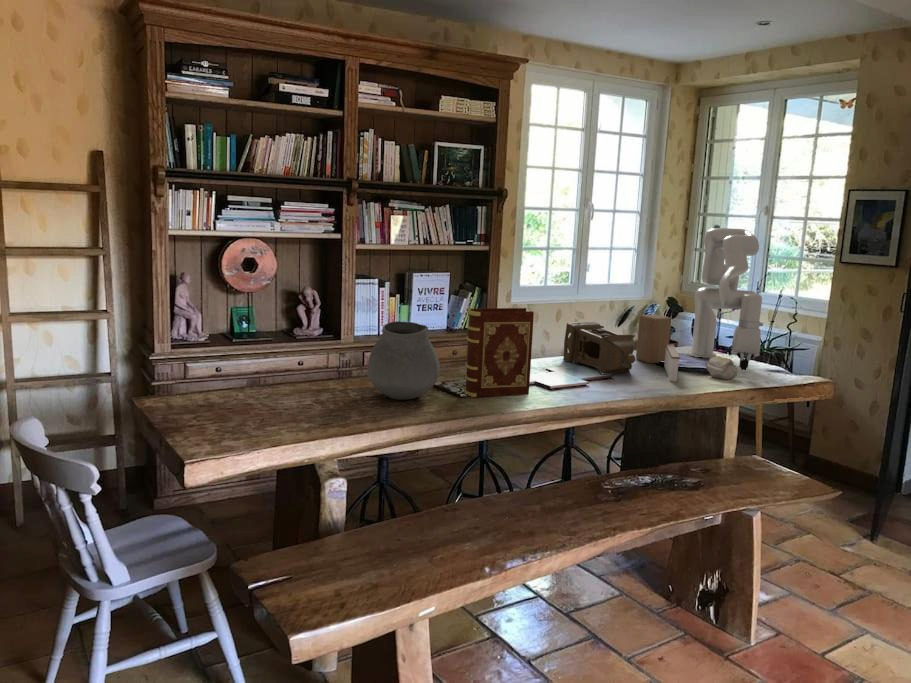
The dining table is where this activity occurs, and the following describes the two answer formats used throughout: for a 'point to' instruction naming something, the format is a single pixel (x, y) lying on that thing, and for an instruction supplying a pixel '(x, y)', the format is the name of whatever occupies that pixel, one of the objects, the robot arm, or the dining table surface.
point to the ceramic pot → (403, 361)
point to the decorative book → (499, 351)
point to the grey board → (671, 362)
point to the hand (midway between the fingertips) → (743, 369)
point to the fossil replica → (721, 368)
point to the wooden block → (653, 338)
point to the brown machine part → (598, 347)
